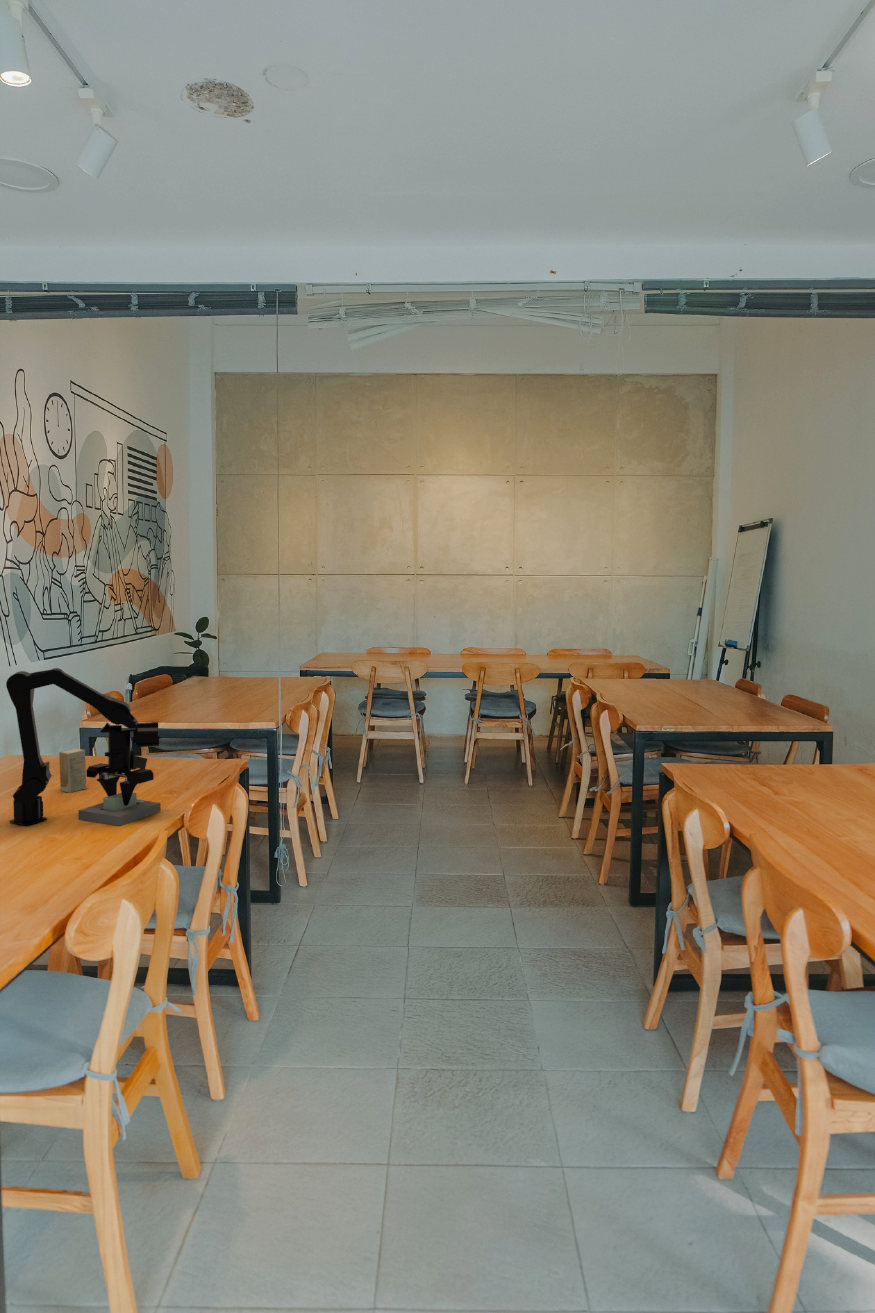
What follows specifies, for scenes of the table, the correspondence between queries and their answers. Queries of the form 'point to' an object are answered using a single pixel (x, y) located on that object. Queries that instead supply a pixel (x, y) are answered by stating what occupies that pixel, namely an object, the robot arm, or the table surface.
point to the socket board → (119, 813)
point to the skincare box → (72, 770)
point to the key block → (118, 802)
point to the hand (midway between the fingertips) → (120, 804)
